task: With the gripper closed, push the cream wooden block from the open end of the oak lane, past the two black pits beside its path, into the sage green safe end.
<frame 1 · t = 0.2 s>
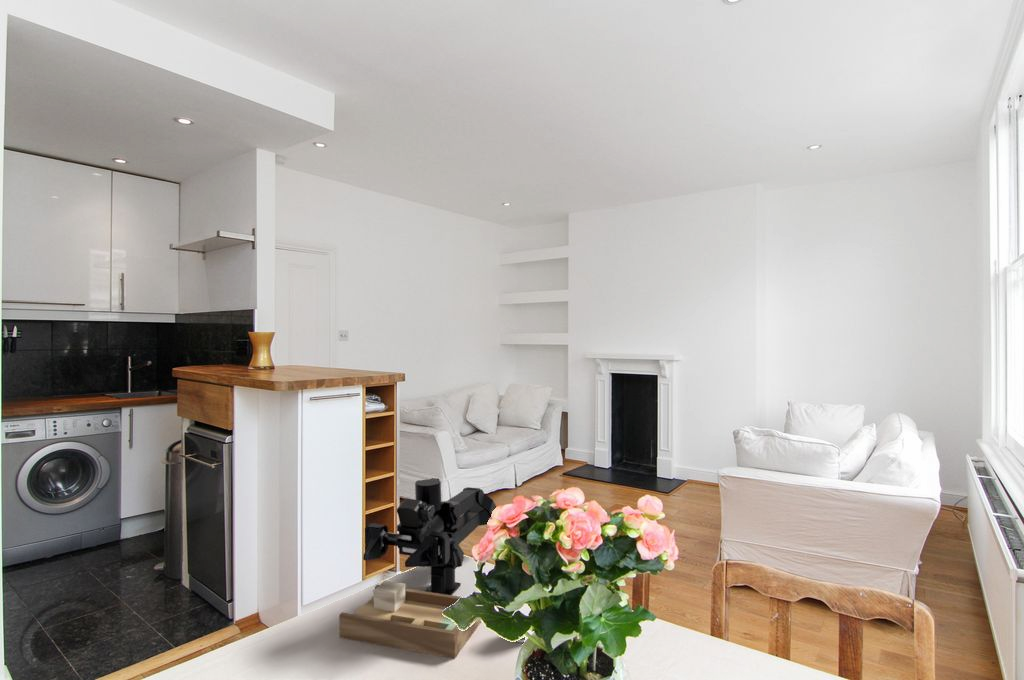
hand: (384, 561, 104), 17 cm above the table, tool horizontal, fingers open, 9 cm apart
supplement bottle: (523, 637, 108), on the table
block: (389, 605, 116), point 2 cm above the table, touching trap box
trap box: (410, 628, 111), on the table
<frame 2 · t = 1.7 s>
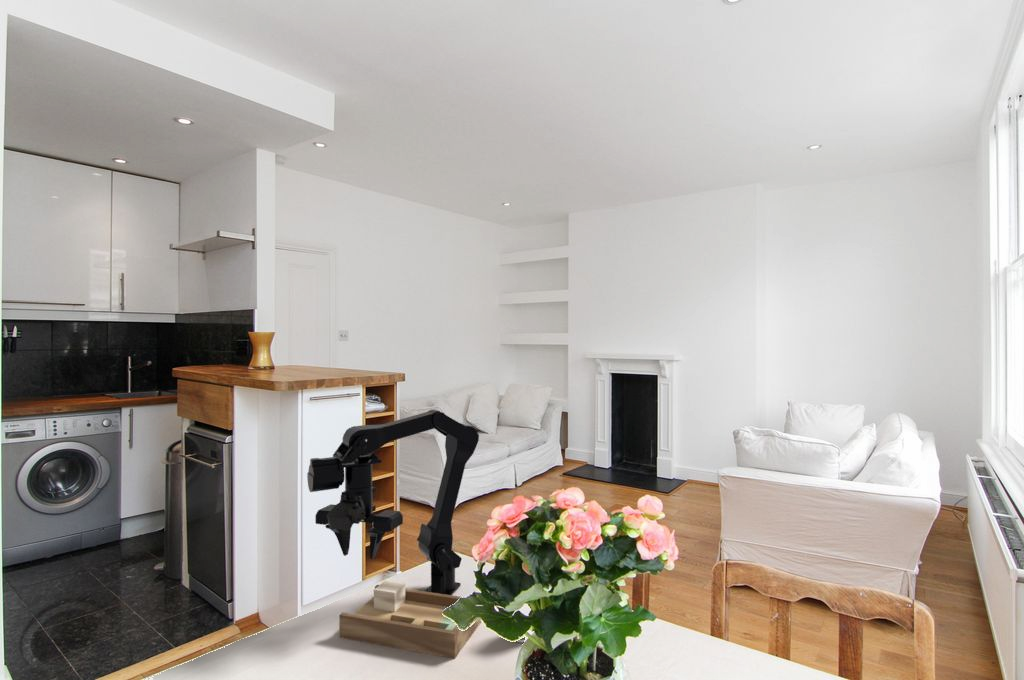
hand: (359, 556, 118), 12 cm above the table, tool pointing down, fingers open, 6 cm apart
nothing on the table moved.
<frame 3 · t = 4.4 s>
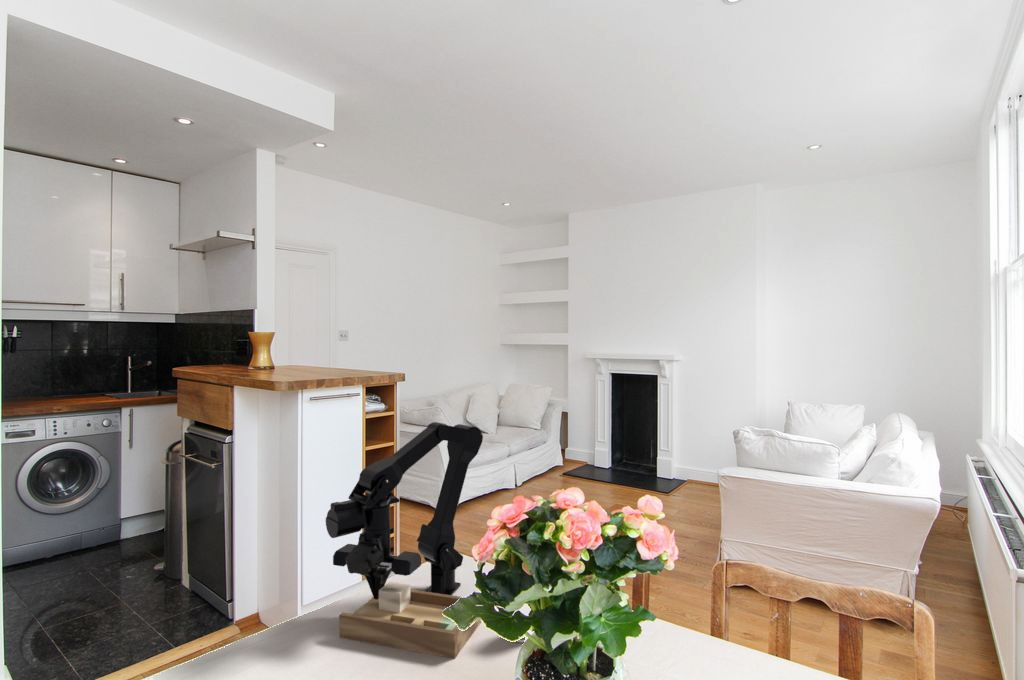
hand: (377, 598, 116), 4 cm above the table, tool pointing down, fingers closed
block: (394, 606, 115), point 3 cm above the table, touching gripper, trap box
everything else where it was.
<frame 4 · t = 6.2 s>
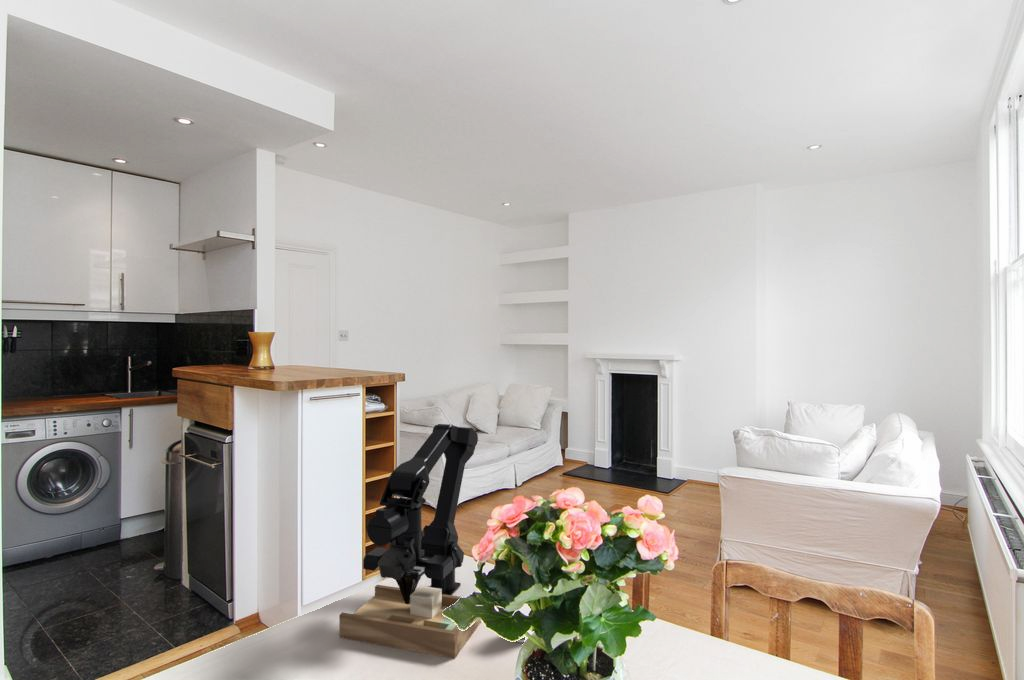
hand: (407, 603, 114), 4 cm above the table, tool pointing down, fingers closed
block: (426, 611, 113), point 3 cm above the table, touching gripper
everything else where it was.
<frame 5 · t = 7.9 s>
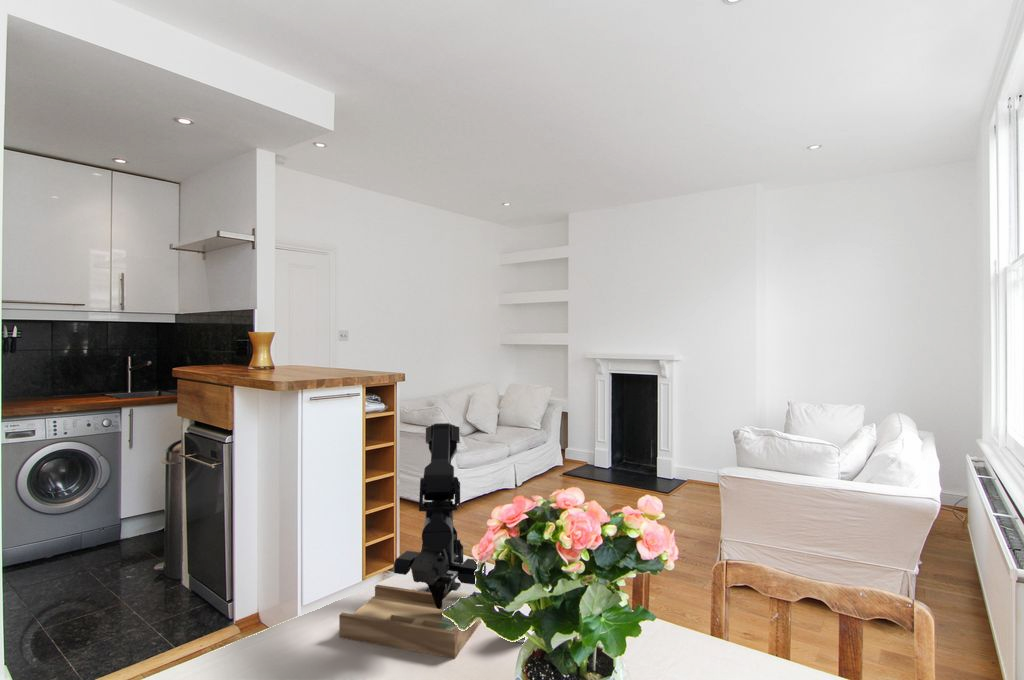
hand: (439, 608, 112), 4 cm above the table, tool pointing down, fingers closed
block: (458, 616, 111), point 3 cm above the table, touching gripper, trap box
everything else where it was.
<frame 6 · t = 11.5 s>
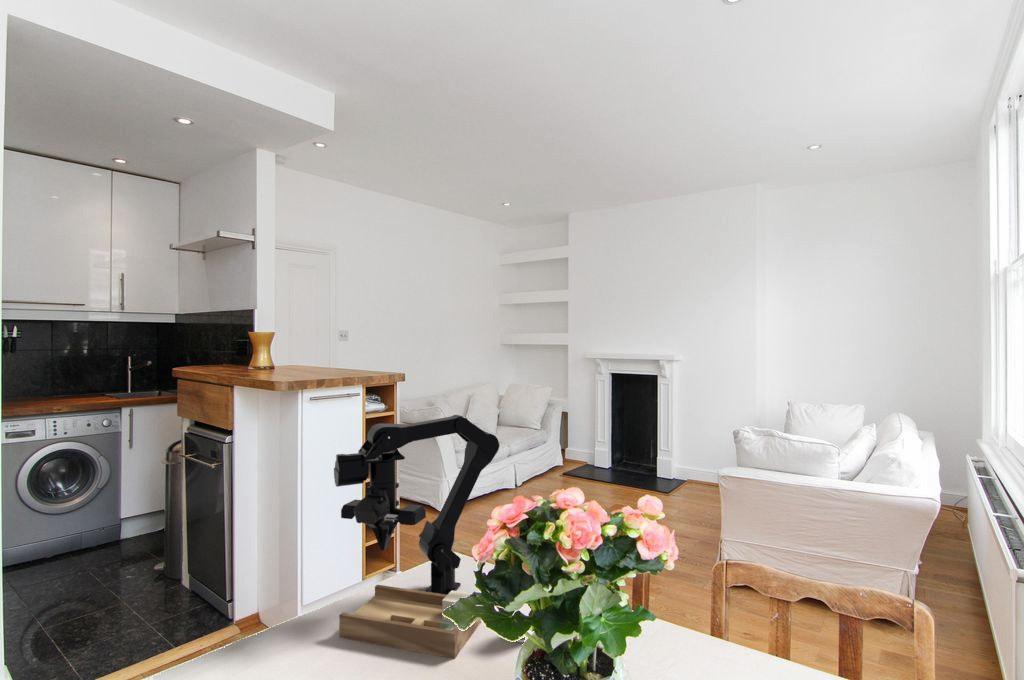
hand: (383, 549, 122), 12 cm above the table, tool pointing down, fingers closed
block: (458, 616, 111), point 2 cm above the table, touching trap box
everything else where it was.
at the end: block 0.4 cm from the target spot on the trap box, point 2.5 cm above the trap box's base; block tilted 0° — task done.
